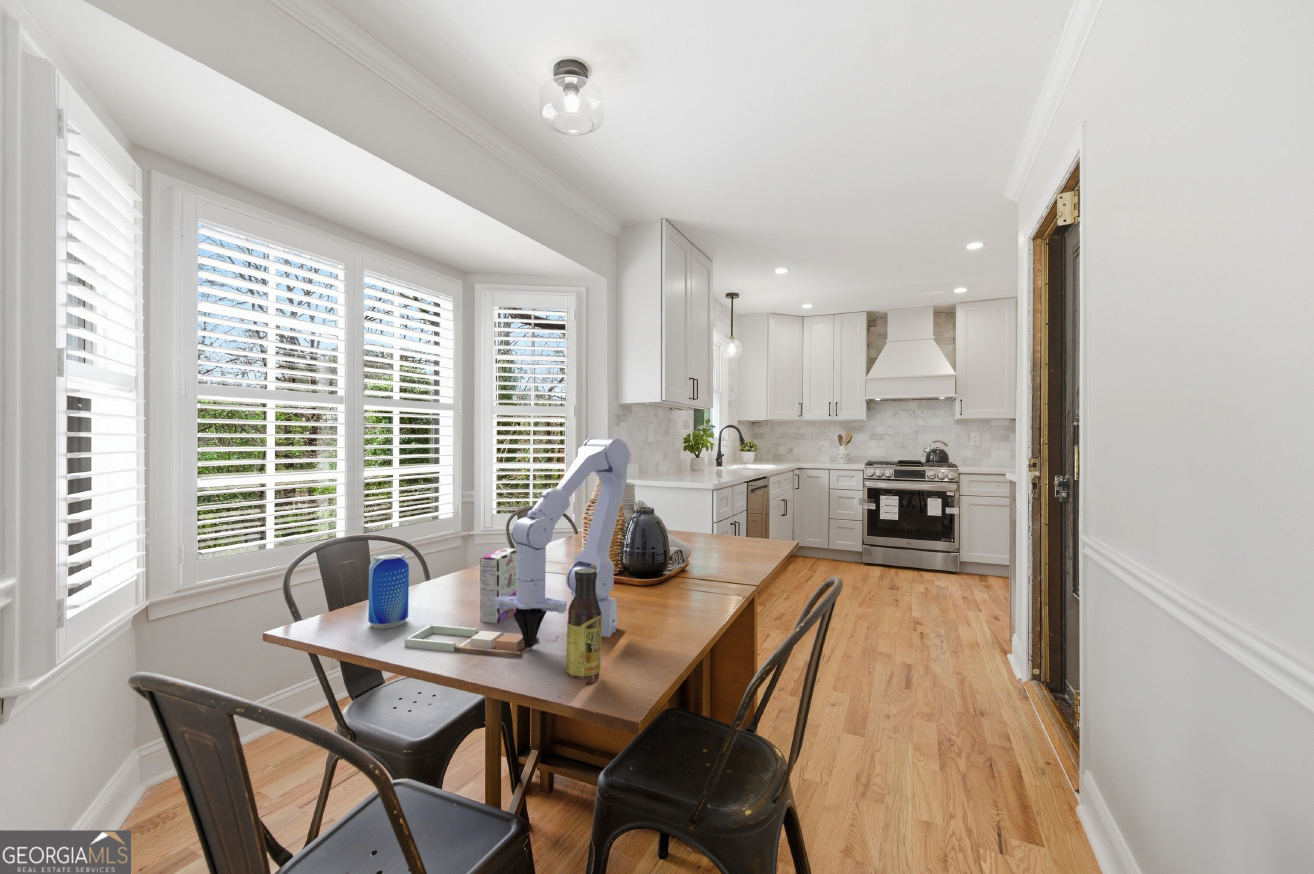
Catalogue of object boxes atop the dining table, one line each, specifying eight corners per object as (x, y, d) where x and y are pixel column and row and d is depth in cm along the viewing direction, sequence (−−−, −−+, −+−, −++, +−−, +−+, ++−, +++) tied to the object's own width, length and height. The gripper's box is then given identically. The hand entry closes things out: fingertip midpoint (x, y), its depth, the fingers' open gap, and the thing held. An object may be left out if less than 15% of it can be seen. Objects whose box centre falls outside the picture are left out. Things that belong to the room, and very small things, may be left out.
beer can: (373, 632, 126) (374, 560, 126) (364, 622, 133) (365, 554, 133) (412, 625, 132) (413, 556, 132) (402, 615, 138) (403, 550, 138)
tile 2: (526, 644, 116) (526, 634, 116) (516, 652, 112) (516, 642, 112) (506, 642, 117) (506, 632, 117) (495, 650, 113) (495, 640, 113)
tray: (477, 642, 121) (477, 628, 121) (453, 658, 112) (454, 643, 112) (430, 638, 123) (431, 624, 123) (404, 653, 114) (404, 638, 114)
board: (538, 648, 118) (538, 637, 118) (519, 665, 109) (519, 653, 109) (477, 642, 121) (477, 631, 121) (453, 658, 112) (453, 647, 112)
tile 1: (501, 642, 117) (501, 632, 117) (490, 650, 113) (490, 640, 113) (481, 640, 118) (481, 630, 118) (470, 648, 114) (470, 638, 114)
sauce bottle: (590, 689, 99) (591, 576, 99) (559, 683, 102) (560, 572, 102) (607, 675, 105) (608, 568, 105) (577, 669, 108) (578, 565, 108)
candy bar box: (501, 613, 141) (501, 547, 141) (519, 614, 140) (520, 548, 140) (478, 628, 130) (479, 556, 130) (498, 629, 129) (499, 557, 129)
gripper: (487, 580, 111) (487, 649, 111) (557, 585, 108) (556, 656, 108) (504, 572, 118) (503, 637, 118) (570, 576, 115) (569, 643, 115)
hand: (530, 645), depth 114 cm, fingers closed
